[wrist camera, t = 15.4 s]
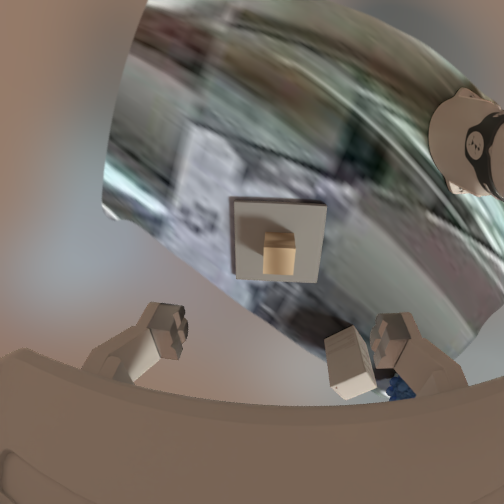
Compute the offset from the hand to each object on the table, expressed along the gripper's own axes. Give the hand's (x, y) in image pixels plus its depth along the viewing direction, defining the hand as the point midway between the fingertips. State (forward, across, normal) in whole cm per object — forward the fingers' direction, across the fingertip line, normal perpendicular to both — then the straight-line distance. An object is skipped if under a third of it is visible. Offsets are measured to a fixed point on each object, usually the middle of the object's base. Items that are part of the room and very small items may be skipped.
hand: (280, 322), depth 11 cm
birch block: (+31, 0, +13) cm, 34 cm away
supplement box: (+32, -15, +37) cm, 51 cm away
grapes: (+33, -34, +50) cm, 69 cm away
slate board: (+32, 0, +13) cm, 35 cm away
